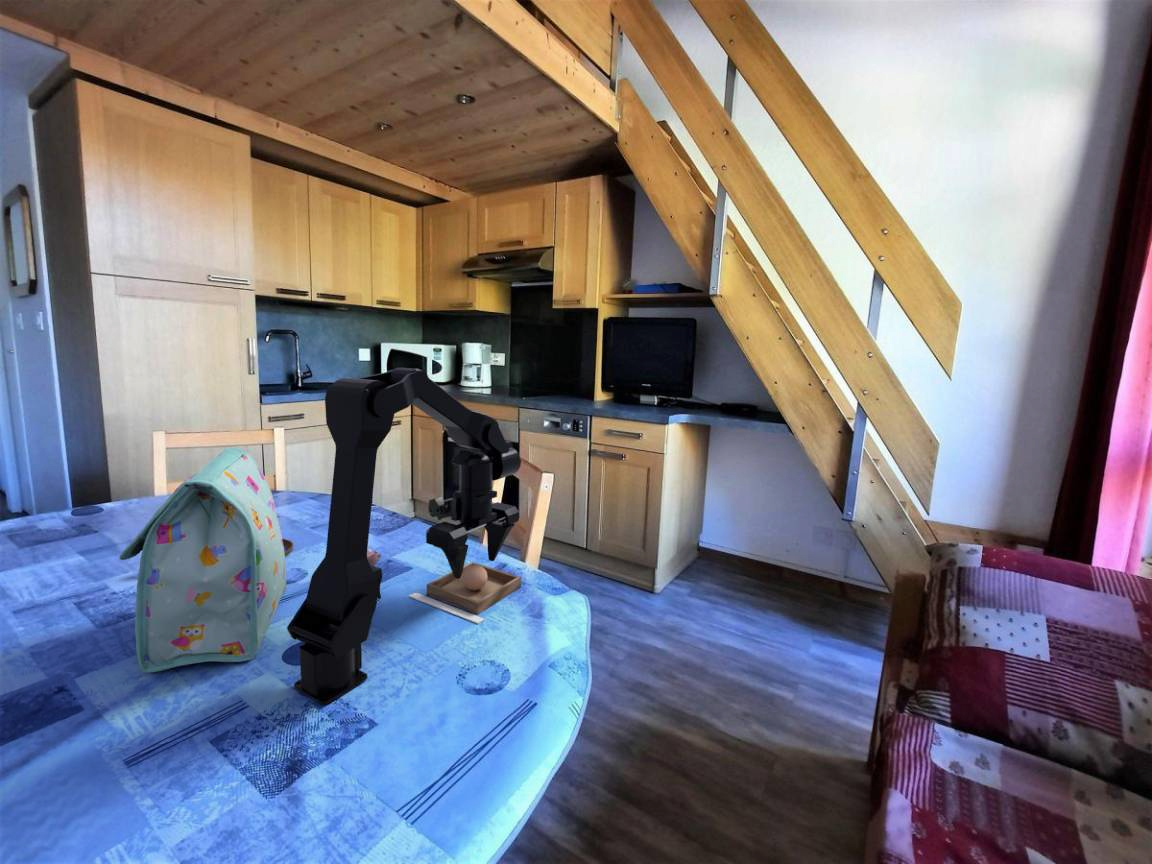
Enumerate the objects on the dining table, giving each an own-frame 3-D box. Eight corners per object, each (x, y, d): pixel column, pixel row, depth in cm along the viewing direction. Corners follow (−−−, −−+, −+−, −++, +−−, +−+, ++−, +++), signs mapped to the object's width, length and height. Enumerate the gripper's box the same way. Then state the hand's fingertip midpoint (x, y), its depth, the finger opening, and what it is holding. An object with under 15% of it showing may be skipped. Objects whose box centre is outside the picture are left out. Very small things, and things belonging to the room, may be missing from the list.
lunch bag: (186, 600, 85) (172, 444, 81) (296, 588, 91) (289, 441, 87) (121, 686, 64) (98, 479, 60) (270, 662, 70) (258, 473, 65)
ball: (475, 597, 89) (476, 573, 89) (456, 590, 92) (457, 566, 91) (492, 587, 93) (492, 564, 93) (473, 581, 96) (474, 558, 95)
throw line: (478, 624, 82) (478, 622, 82) (409, 596, 89) (409, 595, 89) (484, 619, 83) (484, 618, 83) (415, 593, 91) (415, 592, 91)
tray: (478, 614, 84) (478, 603, 84) (426, 594, 90) (426, 584, 90) (520, 587, 95) (521, 577, 94) (472, 571, 101) (472, 561, 100)
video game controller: (342, 602, 90) (357, 571, 88) (322, 588, 90) (336, 557, 89) (374, 578, 99) (389, 550, 98) (356, 566, 100) (369, 537, 98)
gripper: (476, 469, 101) (475, 543, 104) (402, 489, 85) (403, 576, 88) (521, 478, 96) (519, 556, 98) (451, 501, 80) (450, 593, 82)
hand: (475, 568), depth 92 cm, fingers open, 9 cm apart
